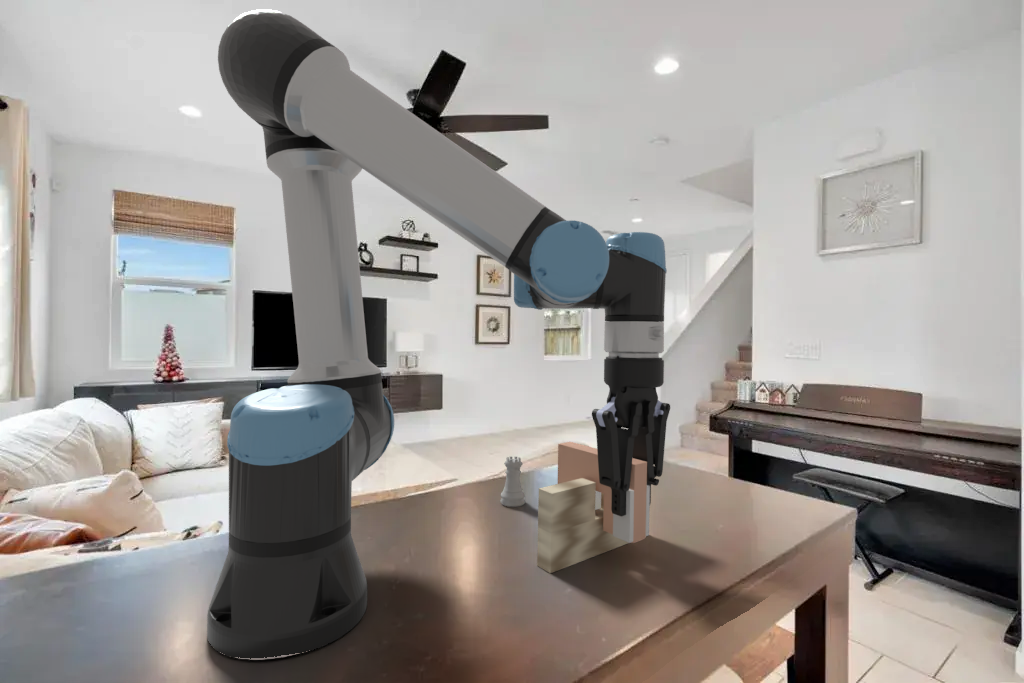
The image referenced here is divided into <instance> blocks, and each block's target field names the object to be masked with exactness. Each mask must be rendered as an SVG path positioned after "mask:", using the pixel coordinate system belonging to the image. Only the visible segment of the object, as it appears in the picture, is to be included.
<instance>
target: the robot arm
mask: <svg viewBox="0 0 1024 683" xmlns="http://www.w3.org/2000/svg"><path fill="white" fill-rule="evenodd" d="M217 50H218V52H217V64H218V70H219V74H220V78H221V81H222V83H223V86H224V87H225V90H226V91H227V93H228V95H229V96H230V98H231V99H233V102H235V103H236V105H237V106H238V108H239V109H240V110H242V111H243V113H246V114H247V116H248V117H250V119H252V120H253V121H255V122H256V123H257V124H258V125H259V126H261V127H262V132H263V138H264V139H263V141H264V150H265V157H266V165H267V166H266V167H267V168H268V169H269V171H271V172H272V173H273V174H274V175H276V176H277V177H278V178H279V179H280V181H281V188H282V189H281V191H282V198H283V199H282V200H283V201H282V202H283V210H284V211H283V212H284V220H285V221H284V222H285V230H286V231H285V233H286V240H287V241H286V242H287V250H288V252H287V253H288V261H289V273H290V281H291V282H290V283H291V284H290V285H291V292H292V294H291V296H292V302H293V316H294V324H295V335H296V344H297V346H296V347H297V355H298V356H297V357H298V365H297V368H295V370H294V371H293V373H292V374H291V375H289V377H288V378H287V381H286V382H287V385H284V386H280V387H278V388H274V387H273V388H267V389H264V390H260V391H257V392H253V393H251V394H249V395H246V396H245V397H243V398H242V399H240V400H239V401H238V402H237V403H236V404H235V405H234V407H233V409H232V411H231V414H230V424H229V430H228V434H227V438H226V439H227V440H226V442H227V443H226V444H227V445H226V446H227V449H228V551H227V555H226V558H225V561H224V563H223V567H222V568H221V571H220V574H219V577H218V581H217V584H216V586H215V588H214V592H213V594H212V597H211V600H210V603H209V605H208V609H207V618H206V621H207V622H206V627H207V628H206V639H207V641H209V642H208V644H209V643H210V644H211V645H210V644H209V645H210V647H211V646H213V647H214V648H215V649H216V650H217V651H219V652H221V653H223V654H225V655H227V656H231V657H238V658H239V657H240V658H250V659H251V658H264V657H265V658H267V657H274V656H275V657H277V656H281V655H289V654H295V653H302V652H306V651H309V650H312V651H314V650H313V649H315V650H317V649H316V648H318V649H320V648H322V647H325V646H327V645H329V644H332V643H333V642H334V641H336V640H338V639H340V638H341V637H343V636H344V635H346V634H347V633H348V632H350V631H352V629H354V627H355V626H356V625H357V624H358V623H359V622H360V621H361V620H362V619H363V617H364V615H365V613H366V610H367V606H368V584H367V582H368V581H367V578H366V575H365V571H364V569H363V566H362V562H361V561H360V557H359V555H358V551H357V548H356V545H355V542H354V539H353V537H352V492H353V491H352V490H353V488H352V482H353V481H354V480H355V479H356V478H358V476H360V475H361V474H362V473H363V472H364V471H365V470H367V469H369V468H370V467H372V466H373V465H374V464H375V463H376V462H378V461H379V459H380V458H381V457H382V456H383V454H385V452H386V451H387V448H388V446H389V444H390V443H391V440H392V437H393V434H394V430H395V415H394V410H393V408H392V405H391V403H390V401H389V399H388V398H387V396H385V395H384V390H383V382H382V379H383V378H382V370H381V369H380V368H379V367H378V366H377V365H375V364H374V363H373V362H372V361H371V360H370V359H369V353H368V344H367V334H366V333H367V332H366V331H367V330H366V323H365V313H364V311H365V310H364V299H363V293H362V279H361V278H362V277H361V269H360V260H359V258H360V256H359V246H358V238H357V237H358V235H357V228H356V226H357V224H356V215H355V214H356V213H355V205H354V194H353V193H354V192H353V183H352V182H353V180H354V179H355V178H356V177H357V176H358V175H359V174H360V173H361V172H362V169H363V170H364V171H366V172H367V173H368V174H370V175H371V176H372V177H374V178H375V179H377V180H378V181H379V182H381V183H383V184H384V185H386V186H387V187H389V188H390V189H392V190H393V191H394V192H396V193H397V194H399V195H400V196H401V197H403V198H404V199H406V200H407V201H408V202H410V203H411V204H413V205H415V206H416V207H418V208H419V209H420V210H421V211H423V212H425V213H426V214H428V215H429V216H431V217H432V218H434V219H435V220H436V221H438V223H441V224H442V225H444V226H445V227H447V228H448V229H449V230H451V231H452V232H454V233H455V234H457V235H458V236H459V237H461V238H462V239H464V240H466V241H467V242H468V243H470V244H471V245H473V246H474V247H476V248H477V249H479V250H480V251H482V252H483V253H484V254H486V255H487V256H489V257H490V258H491V259H493V260H494V261H496V262H497V263H499V265H502V266H503V267H504V268H506V269H507V270H509V272H511V273H513V302H514V304H515V305H516V307H519V308H521V309H522V308H525V309H534V310H538V311H539V310H543V309H545V310H546V309H548V310H549V309H553V310H554V309H556V310H558V309H559V310H561V309H562V310H565V309H566V310H568V309H569V310H571V309H593V310H599V309H602V310H604V330H603V331H604V334H603V335H604V338H603V351H604V352H605V353H608V355H607V356H605V358H604V360H603V361H604V362H603V382H604V383H605V384H606V385H607V386H608V388H609V391H608V396H607V398H606V404H605V405H604V406H603V407H602V408H601V409H598V408H593V409H592V411H591V418H592V421H593V423H594V426H595V434H596V436H595V437H596V447H597V448H596V449H597V452H598V467H599V481H600V484H602V485H605V486H608V487H610V488H611V490H612V504H611V505H612V506H611V510H612V513H613V536H614V537H617V538H619V539H621V540H624V541H626V542H628V544H630V543H631V542H633V533H634V490H631V489H629V487H630V478H631V468H632V458H634V459H638V460H642V461H646V462H647V492H646V537H648V536H650V517H649V511H651V510H650V508H651V507H650V506H651V503H652V502H651V501H652V495H651V494H652V485H653V486H658V485H659V482H660V479H658V478H661V476H662V475H663V470H664V469H663V468H664V457H665V456H664V455H665V447H666V446H665V445H666V432H667V421H668V418H669V414H670V410H671V404H670V403H668V402H662V401H661V400H659V394H658V392H657V388H659V387H662V386H663V384H664V382H665V381H664V378H665V375H664V374H665V373H664V372H665V360H664V359H663V358H662V357H660V354H662V353H664V350H665V346H664V345H665V339H664V338H665V301H666V299H665V298H666V297H665V296H666V294H665V293H666V277H667V276H666V274H667V268H666V267H667V266H666V262H667V261H666V248H665V247H666V245H665V241H664V240H663V238H662V237H661V236H660V235H658V234H655V233H652V232H646V231H645V232H644V231H633V232H632V231H631V232H620V233H616V234H615V233H614V234H612V235H610V236H608V238H607V239H606V240H605V239H604V237H603V236H602V234H601V233H600V232H599V231H598V230H597V229H596V228H595V227H593V225H590V224H588V223H586V222H583V221H578V220H566V219H565V218H564V217H562V216H561V215H559V214H558V213H556V212H555V211H553V210H551V209H550V208H548V207H547V206H546V205H544V204H542V203H541V202H540V201H538V200H537V199H535V198H534V197H533V196H531V195H530V194H529V193H528V192H526V191H524V190H523V189H521V187H518V186H517V185H516V184H514V183H513V182H511V181H510V180H508V179H507V178H506V177H504V176H503V175H501V174H500V173H498V172H497V171H496V170H494V169H492V168H491V167H490V166H488V165H487V164H485V163H484V162H483V161H481V160H480V159H478V158H477V157H476V156H474V155H473V154H471V153H470V152H468V151H467V150H465V149H464V148H463V147H461V146H460V145H459V144H457V143H456V142H454V141H452V140H451V139H450V138H448V137H447V136H445V135H444V134H443V133H441V132H440V131H438V130H437V129H436V128H434V127H432V125H430V124H429V123H427V122H426V121H424V120H423V119H421V118H420V117H418V116H417V115H416V114H414V113H413V112H411V111H410V110H408V109H407V108H405V107H404V106H402V105H401V104H400V103H398V102H397V101H395V100H394V99H392V97H389V96H388V95H387V94H385V93H384V92H382V91H381V90H380V89H378V88H377V87H376V86H374V85H372V84H371V83H370V82H368V81H367V80H365V79H364V78H362V76H360V75H358V74H356V72H354V71H352V70H351V67H350V62H349V60H348V58H347V56H346V55H345V53H344V52H343V51H341V49H339V48H338V47H336V46H335V45H333V44H332V43H331V42H330V41H327V40H326V39H325V38H323V37H322V36H321V35H319V34H318V33H317V32H315V31H314V30H313V29H311V28H310V27H309V26H307V25H306V24H304V23H303V22H301V21H300V20H298V19H296V18H295V17H293V16H291V15H289V14H286V13H284V12H281V11H278V10H272V9H256V10H251V11H248V12H244V13H242V14H240V15H239V16H237V17H236V18H234V20H232V22H230V24H228V25H227V27H226V29H225V30H224V32H223V33H222V35H221V38H220V41H219V44H218V49H217ZM657 477H658V478H657ZM620 479H621V480H620ZM631 544H632V543H631ZM328 643H329V644H328ZM321 646H322V647H321ZM216 650H215V651H216ZM217 651H216V652H217ZM219 652H218V653H219ZM225 655H224V656H225ZM227 656H226V657H227ZM231 657H230V658H231Z"/></svg>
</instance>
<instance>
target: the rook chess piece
mask: <svg viewBox="0 0 1024 683" xmlns="http://www.w3.org/2000/svg"><path fill="white" fill-rule="evenodd" d="M503 465H504V466H505V467H506V470H505V475H506V478H505V483H504V488H502V489H503V491H501V493H500V501H499V502H500V503H501V505H502V506H504V507H506V506H507V508H520V507H522V506H524V504H525V503H526V499H525V498H526V495H525V494H526V493H525V492H524V491H523V487H522V486H521V484H522V483H521V474H522V471H521V467H522V466H523V462H522V458H521V457H520V456H519V457H518V456H514V458H513V456H509V457H508V456H506V460H505V462H504V464H503Z"/></svg>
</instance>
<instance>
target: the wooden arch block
mask: <svg viewBox="0 0 1024 683" xmlns="http://www.w3.org/2000/svg"><path fill="white" fill-rule="evenodd" d="M580 478H584V479H587V480H590V481H593V482H596V492H598V493H604V513H603V531H606V532H608V533H610V534H613V513H612V510H611V506H612V505H611V504H612V490H611V488H610V487H608V486H605V485H602V484H600V481H599V467H598V452H597V448H596V447H591V446H589V445H585V444H584V445H583V444H581V443H576V442H573V441H567V442H560V443H558V444H557V484H560V483H564V482H568V481H572V480H576V479H580ZM620 480H621V479H620ZM629 489H631V490H634V533H633V542H631V544H635V543H638V542H640V541H643V540H645V539H646V537H647V536H646V492H647V462H646V461H642V460H638V459H634V458H633V457H632V468H631V478H630V487H629Z"/></svg>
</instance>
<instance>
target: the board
mask: <svg viewBox="0 0 1024 683" xmlns="http://www.w3.org/2000/svg"><path fill="white" fill-rule="evenodd" d="M600 493H601V492H600ZM596 494H597V491H596V482H593V481H590V480H587V479H584V478H580V479H576V480H572V481H568V482H564V483H560V484H558V483H556V484H551V485H548V486H544V487H540V488H538V503H537V504H538V505H537V506H538V507H537V508H538V509H537V512H538V513H537V560H536V564H537V565H536V566H537V567H539V568H540V569H543V570H544V571H546V572H548V573H549V574H552V573H555V572H557V571H560V570H563V569H566V568H568V567H570V566H573V565H577V564H579V563H581V562H583V561H586V560H589V559H591V558H593V557H596V556H599V555H602V554H604V553H607V552H610V551H611V550H615V549H617V548H619V547H622V546H625V545H627V544H629V543H628V542H626V541H624V540H621V539H619V538H617V537H614V536H613V534H610V533H608V532H606V531H603V513H604V493H601V495H600V508H597V509H596V498H597V497H596V496H597V495H596ZM650 511H651V510H650ZM650 511H649V518H650V516H651V515H650V514H651V513H650Z"/></svg>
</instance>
